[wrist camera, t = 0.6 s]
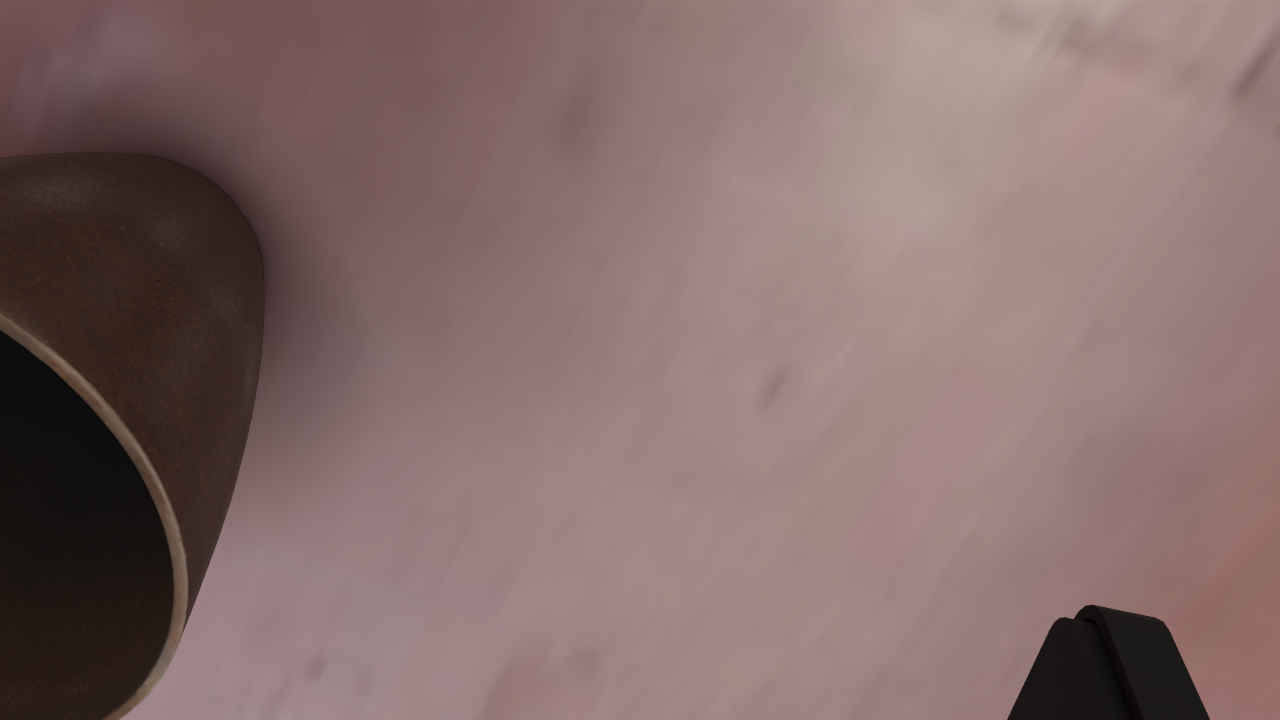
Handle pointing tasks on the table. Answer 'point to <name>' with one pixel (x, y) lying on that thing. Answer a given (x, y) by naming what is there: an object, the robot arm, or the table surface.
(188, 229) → the plant pot
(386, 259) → the table surface
